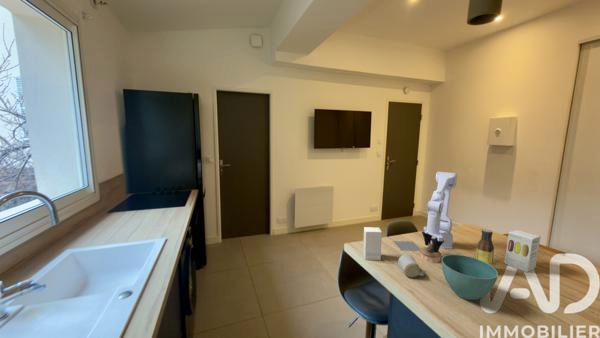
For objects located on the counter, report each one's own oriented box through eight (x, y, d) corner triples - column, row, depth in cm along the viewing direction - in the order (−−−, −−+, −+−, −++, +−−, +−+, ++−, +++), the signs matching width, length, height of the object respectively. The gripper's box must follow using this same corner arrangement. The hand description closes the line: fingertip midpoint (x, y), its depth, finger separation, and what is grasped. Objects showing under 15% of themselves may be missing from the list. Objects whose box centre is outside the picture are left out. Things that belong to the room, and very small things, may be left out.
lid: (435, 249, 127) (436, 240, 126) (444, 258, 117) (445, 249, 117) (417, 248, 128) (417, 239, 127) (424, 256, 118) (425, 247, 117)
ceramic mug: (404, 278, 105) (405, 262, 104) (397, 268, 113) (398, 253, 112) (428, 279, 104) (429, 263, 103) (419, 269, 113) (421, 254, 112)
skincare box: (378, 254, 126) (379, 227, 124) (381, 261, 119) (382, 232, 118) (362, 253, 127) (363, 226, 125) (364, 260, 120) (365, 231, 118)
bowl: (434, 254, 127) (434, 249, 127) (443, 263, 118) (444, 257, 118) (417, 254, 127) (418, 248, 127) (426, 262, 118) (426, 257, 118)
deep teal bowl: (470, 313, 84) (473, 282, 82) (429, 283, 101) (431, 257, 100) (505, 304, 89) (509, 274, 87) (461, 277, 106) (463, 252, 105)
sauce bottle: (494, 274, 109) (499, 234, 106) (479, 273, 110) (484, 232, 108) (486, 267, 115) (491, 228, 113) (472, 265, 116) (476, 227, 114)
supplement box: (503, 263, 119) (507, 231, 117) (511, 259, 124) (516, 229, 122) (528, 272, 111) (533, 239, 109) (536, 268, 115) (541, 235, 113)
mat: (412, 242, 143) (412, 241, 143) (422, 251, 131) (422, 250, 131) (393, 241, 143) (393, 241, 143) (401, 251, 131) (401, 250, 131)
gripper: (418, 218, 128) (416, 242, 129) (433, 228, 113) (431, 255, 115) (431, 218, 128) (429, 242, 129) (448, 229, 113) (445, 255, 115)
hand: (431, 248), depth 122 cm, fingers open, 7 cm apart
